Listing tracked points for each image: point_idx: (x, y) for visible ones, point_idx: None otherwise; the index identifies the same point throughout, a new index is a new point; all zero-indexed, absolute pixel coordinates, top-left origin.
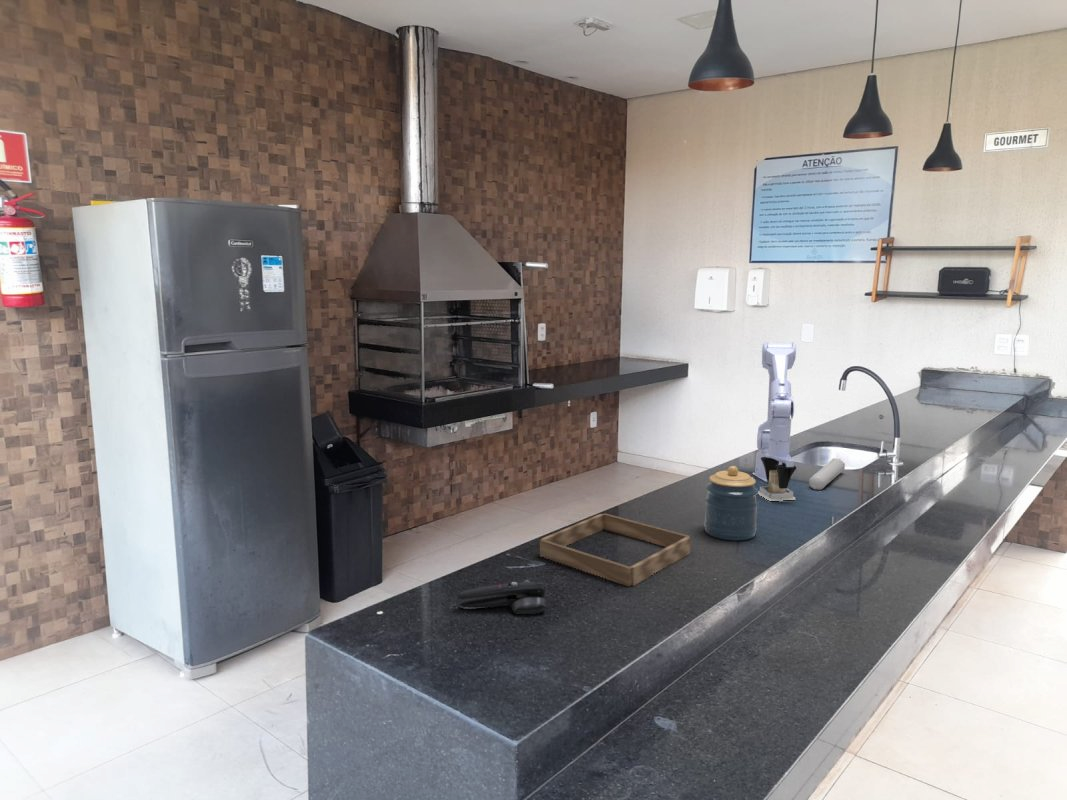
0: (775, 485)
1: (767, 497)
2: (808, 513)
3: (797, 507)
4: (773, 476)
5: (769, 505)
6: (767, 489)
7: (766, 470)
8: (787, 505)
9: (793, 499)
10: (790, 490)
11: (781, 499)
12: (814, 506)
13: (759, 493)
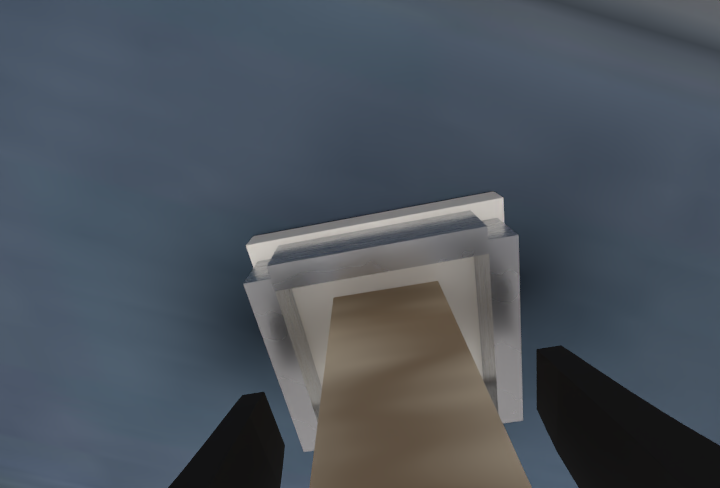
0: (329, 379)
1: (300, 239)
2: (41, 413)
3: (157, 387)
4: (359, 461)
5: (153, 209)
6: (483, 293)
7: (652, 458)
8: (189, 340)
9: None
10: None
11: None
12: None
13: (452, 204)
